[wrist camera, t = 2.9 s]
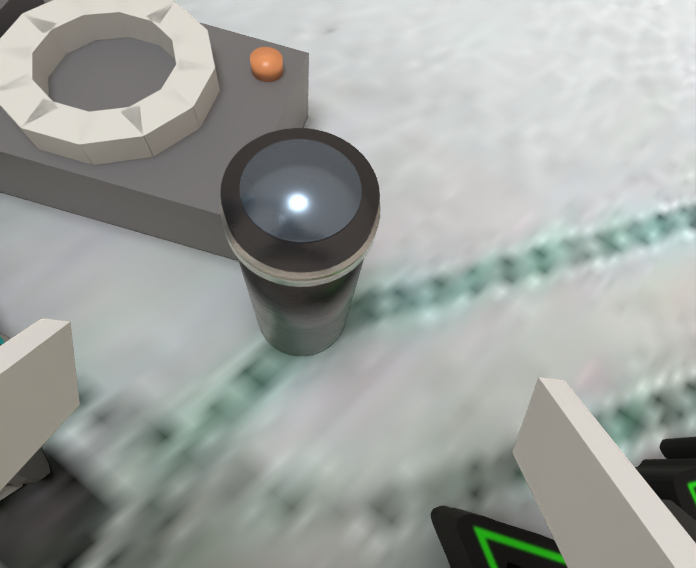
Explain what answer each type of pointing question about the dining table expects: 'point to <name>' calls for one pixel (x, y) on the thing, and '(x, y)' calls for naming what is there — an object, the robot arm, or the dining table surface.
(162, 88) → the camera body
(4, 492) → the handgun
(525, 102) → the dining table surface
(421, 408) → the dining table surface
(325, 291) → the lens
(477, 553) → the sign
